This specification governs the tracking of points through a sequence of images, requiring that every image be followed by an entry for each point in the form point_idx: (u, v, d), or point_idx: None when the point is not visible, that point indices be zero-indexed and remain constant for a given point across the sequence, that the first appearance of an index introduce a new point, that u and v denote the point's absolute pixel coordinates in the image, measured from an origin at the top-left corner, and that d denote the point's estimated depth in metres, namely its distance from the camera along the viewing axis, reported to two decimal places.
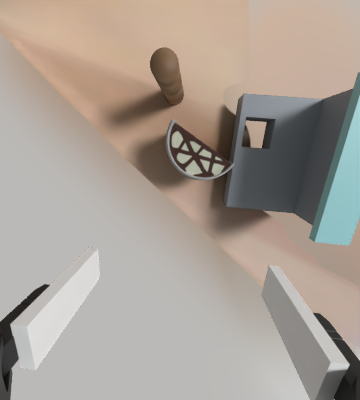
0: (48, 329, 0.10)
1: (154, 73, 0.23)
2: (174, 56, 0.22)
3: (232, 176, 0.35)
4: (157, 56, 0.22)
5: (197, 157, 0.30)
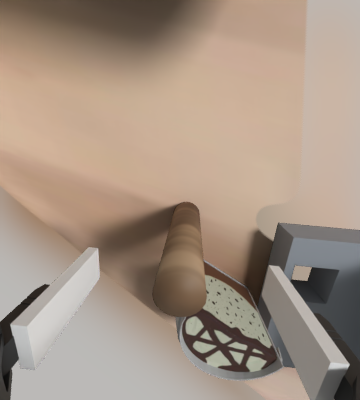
0: (48, 329, 0.10)
1: (160, 306, 0.12)
2: (199, 286, 0.11)
3: (268, 331, 0.25)
4: (166, 284, 0.12)
5: (225, 348, 0.19)
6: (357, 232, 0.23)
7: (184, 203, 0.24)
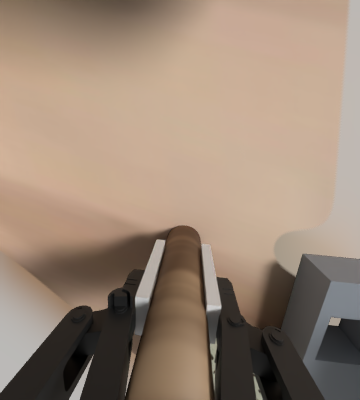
0: None
1: None
2: None
3: None
4: None
5: None
6: None
7: (180, 228, 0.18)
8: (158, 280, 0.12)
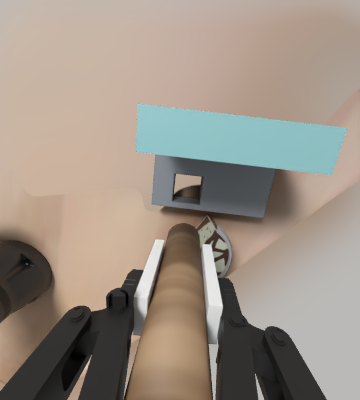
0: None
1: None
2: None
3: (229, 212, 0.33)
4: None
5: None
6: None
7: (180, 225, 0.19)
8: (159, 273, 0.13)
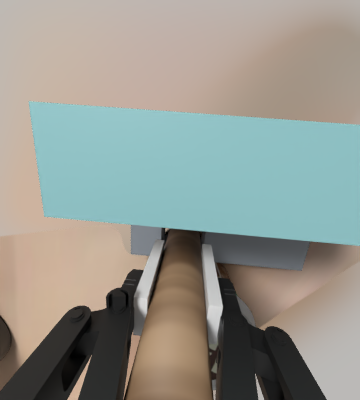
0: None
1: None
2: None
3: (249, 263, 0.22)
4: None
5: None
6: None
7: None
8: (160, 272, 0.13)
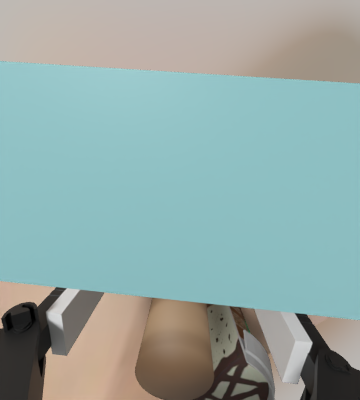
0: (76, 318, 0.10)
1: (147, 387, 0.08)
2: (203, 364, 0.08)
3: None
4: (155, 360, 0.08)
5: (227, 399, 0.15)
6: None
7: None
8: None
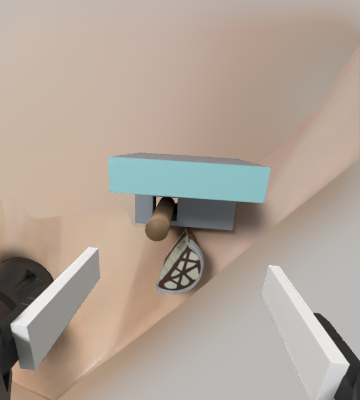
0: (48, 329, 0.10)
1: (149, 236, 0.29)
2: (164, 226, 0.28)
3: (202, 226, 0.39)
4: (151, 225, 0.28)
5: (184, 271, 0.36)
6: None
7: (165, 197, 0.41)
8: (155, 209, 0.35)
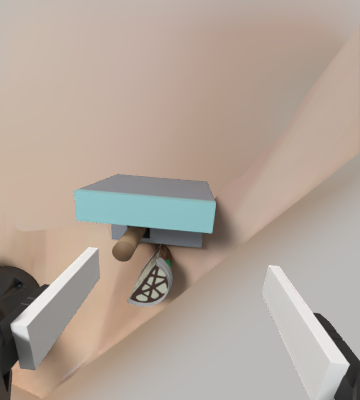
0: (48, 329, 0.10)
1: (115, 257, 0.32)
2: (129, 248, 0.31)
3: (173, 244, 0.42)
4: (117, 247, 0.31)
5: (153, 285, 0.39)
6: None
7: None
8: (127, 229, 0.38)
